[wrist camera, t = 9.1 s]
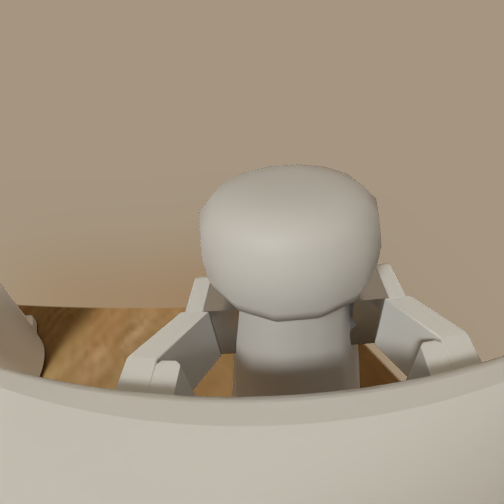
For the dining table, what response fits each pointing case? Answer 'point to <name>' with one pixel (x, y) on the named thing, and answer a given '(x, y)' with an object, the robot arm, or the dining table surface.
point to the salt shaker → (291, 274)
